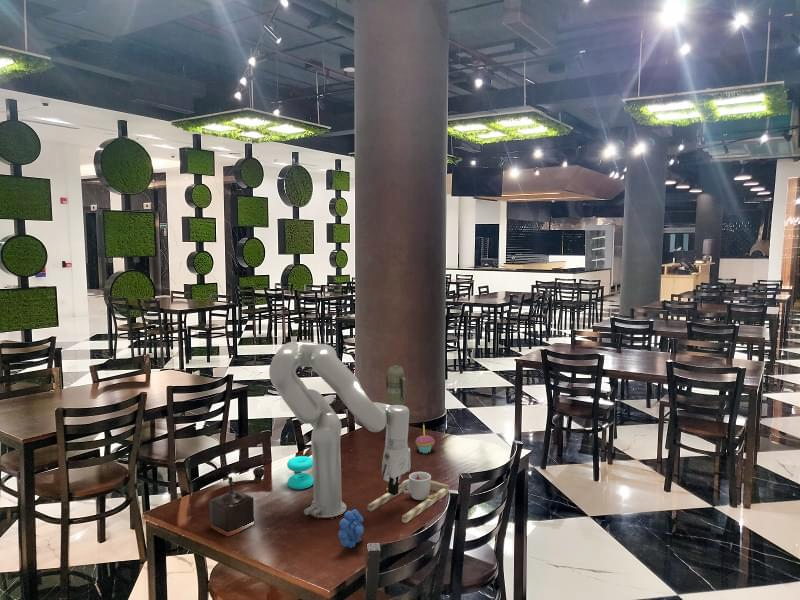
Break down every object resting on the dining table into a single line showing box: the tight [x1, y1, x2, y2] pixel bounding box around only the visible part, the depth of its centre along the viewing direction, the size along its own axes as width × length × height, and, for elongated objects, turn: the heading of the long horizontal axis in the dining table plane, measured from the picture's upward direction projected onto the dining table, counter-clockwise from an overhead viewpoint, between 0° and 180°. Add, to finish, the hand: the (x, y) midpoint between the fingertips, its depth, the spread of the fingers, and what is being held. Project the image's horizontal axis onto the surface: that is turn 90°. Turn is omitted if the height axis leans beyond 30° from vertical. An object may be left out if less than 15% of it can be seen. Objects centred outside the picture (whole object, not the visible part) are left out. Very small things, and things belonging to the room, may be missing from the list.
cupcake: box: [415, 423, 436, 454], centre depth 250 cm, size 9×8×12 cm
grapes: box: [337, 509, 365, 549], centre depth 170 cm, size 12×7×12 cm, turn 150°
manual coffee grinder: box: [208, 466, 266, 532], centre depth 186 cm, size 16×11×18 cm
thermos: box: [385, 364, 407, 406], centre depth 265 cm, size 9×12×35 cm
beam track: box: [367, 479, 450, 524], centre depth 202 cm, size 28×20×6 cm
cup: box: [401, 471, 432, 501], centre depth 204 cm, size 11×8×8 cm
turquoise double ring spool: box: [286, 455, 313, 490], centre depth 216 cm, size 10×10×10 cm
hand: (392, 493), depth 196 cm, fingers closed
